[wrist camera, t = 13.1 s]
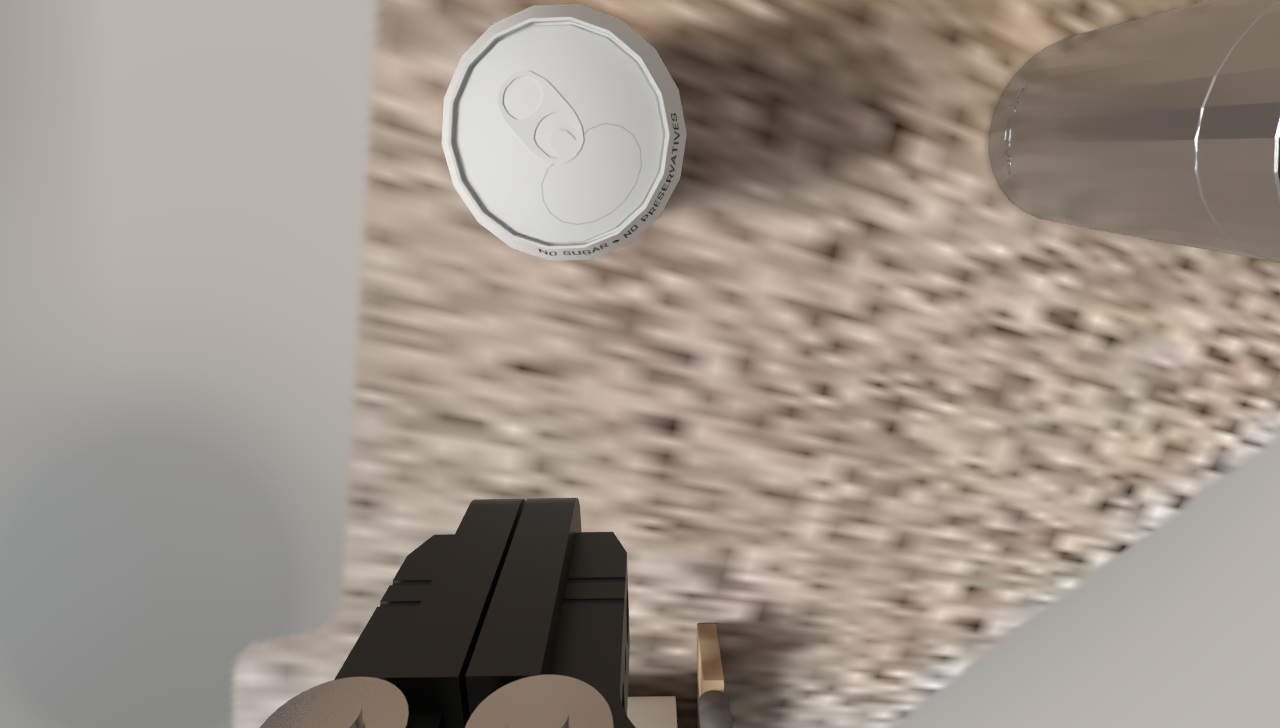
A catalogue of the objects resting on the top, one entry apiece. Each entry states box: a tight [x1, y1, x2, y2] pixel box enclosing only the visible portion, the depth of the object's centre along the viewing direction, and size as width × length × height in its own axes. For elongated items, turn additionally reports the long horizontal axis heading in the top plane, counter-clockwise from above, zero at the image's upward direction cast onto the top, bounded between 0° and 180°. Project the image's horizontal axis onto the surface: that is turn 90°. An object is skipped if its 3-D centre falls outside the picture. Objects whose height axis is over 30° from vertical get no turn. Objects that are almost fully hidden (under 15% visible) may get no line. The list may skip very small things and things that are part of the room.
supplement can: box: [442, 4, 687, 261], centre depth 29 cm, size 8×8×15 cm
